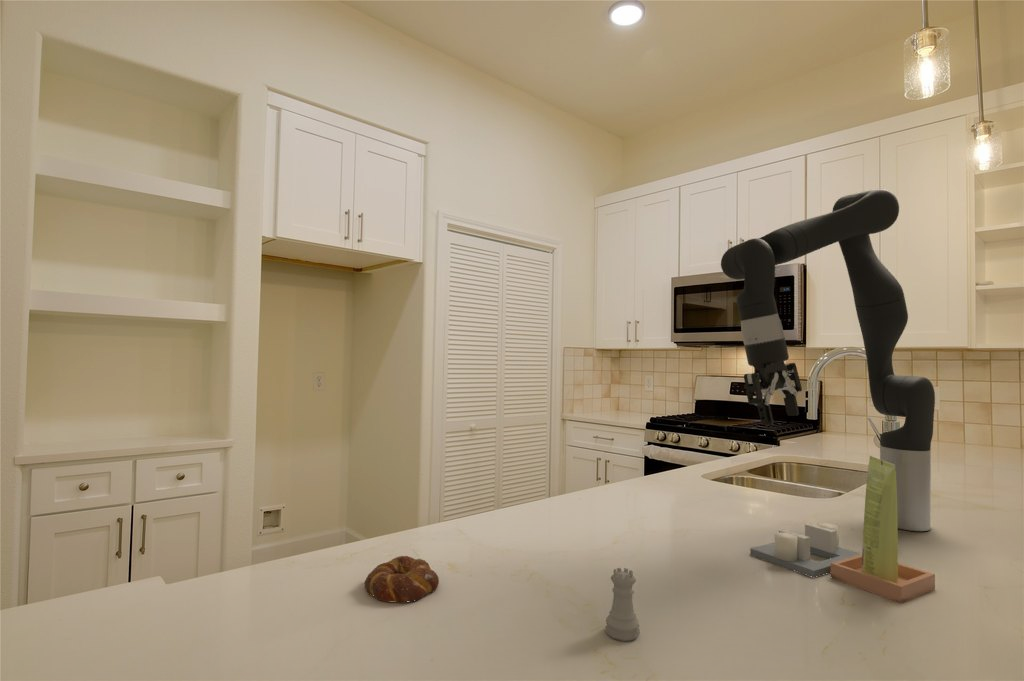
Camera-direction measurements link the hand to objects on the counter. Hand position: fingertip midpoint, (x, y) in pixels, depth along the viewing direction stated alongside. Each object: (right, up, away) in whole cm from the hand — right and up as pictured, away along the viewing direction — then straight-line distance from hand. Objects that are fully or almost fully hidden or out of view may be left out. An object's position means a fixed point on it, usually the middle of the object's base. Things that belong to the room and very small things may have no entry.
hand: (780, 419), depth 109 cm
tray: (+7, -24, -20) cm, 32 cm away
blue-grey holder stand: (+1, -24, -9) cm, 26 cm away
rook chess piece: (-39, -23, -38) cm, 59 cm away
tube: (+7, -24, -20) cm, 31 cm away
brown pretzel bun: (-70, -22, -25) cm, 78 cm away
